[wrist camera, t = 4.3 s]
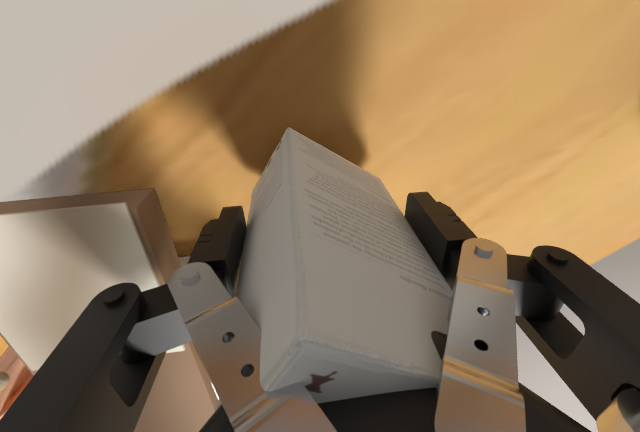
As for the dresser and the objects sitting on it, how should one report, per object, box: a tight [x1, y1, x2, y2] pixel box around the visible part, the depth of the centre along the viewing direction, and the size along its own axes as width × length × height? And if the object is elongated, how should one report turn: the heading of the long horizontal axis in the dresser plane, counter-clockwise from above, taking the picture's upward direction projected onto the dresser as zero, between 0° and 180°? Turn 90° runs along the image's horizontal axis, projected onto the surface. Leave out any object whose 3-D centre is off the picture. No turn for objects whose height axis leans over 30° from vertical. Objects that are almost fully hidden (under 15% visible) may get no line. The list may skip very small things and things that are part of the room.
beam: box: [0, 188, 218, 432], centre depth 14 cm, size 7×23×5 cm, turn 3°
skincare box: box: [217, 127, 453, 409], centre depth 11 cm, size 6×4×12 cm
